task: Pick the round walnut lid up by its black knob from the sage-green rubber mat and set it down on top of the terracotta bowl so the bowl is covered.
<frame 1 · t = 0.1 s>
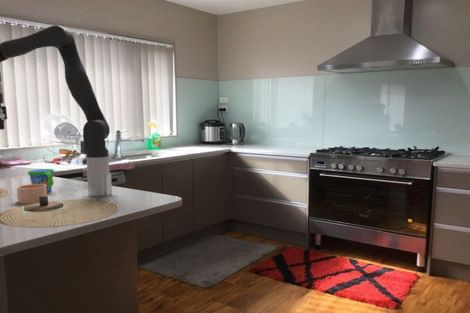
bowl: (33, 201, 172), on the countertop
lid: (44, 207, 159), point 1 cm above the countertop, touching mat
snack cup: (42, 192, 193), on the countertop
mat: (44, 208, 159), on the countertop
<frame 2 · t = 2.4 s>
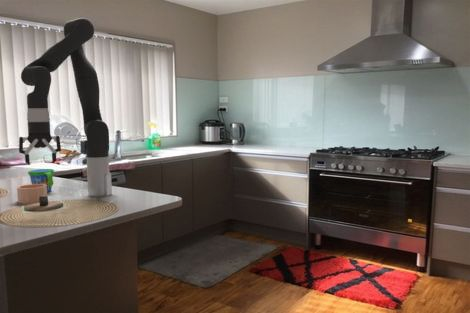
hand: (41, 163, 157), 17 cm above the countertop, fingers open, 8 cm apart
nothing on the countertop moved.
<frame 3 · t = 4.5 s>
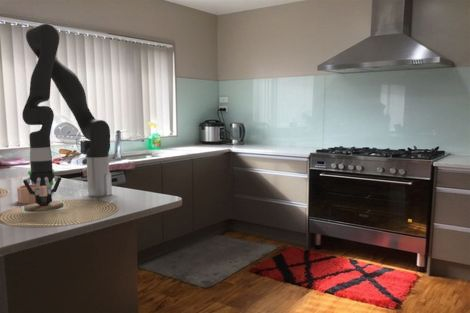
hand: (43, 203, 159), 2 cm above the countertop, fingers closed on lid, 3 cm apart
lid: (44, 207, 159), point 1 cm above the countertop, touching gripper, mat
everything else where it was.
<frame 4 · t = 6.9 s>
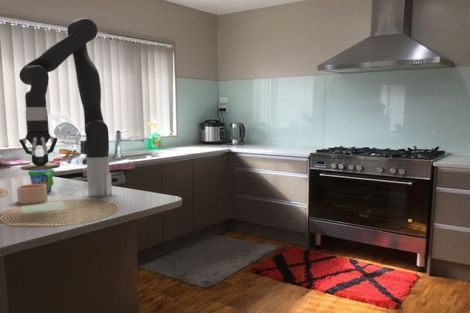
hand: (40, 164, 159), 17 cm above the countertop, fingers closed on lid, 3 cm apart
lid: (40, 167, 159), point 16 cm above the countertop, touching gripper
everything else where it was.
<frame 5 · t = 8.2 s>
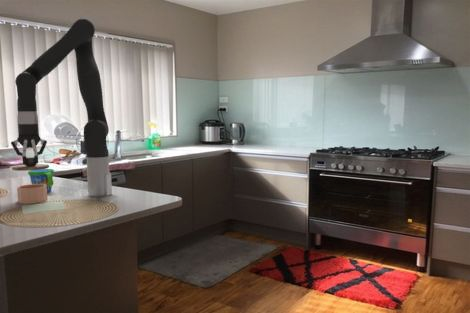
hand: (30, 165, 170), 15 cm above the countertop, fingers closed on lid, 3 cm apart
lid: (30, 168, 170), point 14 cm above the countertop, touching gripper
everything else where it was.
when the fingers open (9 cm above the countertop, at t = 9.5 s): lid drops 1 cm, resting on bowl.
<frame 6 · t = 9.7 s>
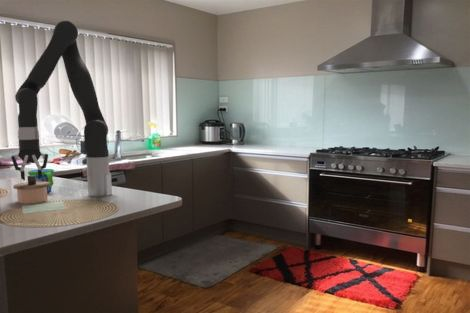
hand: (31, 179, 171), 9 cm above the countertop, fingers open, 5 cm apart
lid: (32, 186, 171), point 6 cm above the countertop, touching bowl
everything else where it was.
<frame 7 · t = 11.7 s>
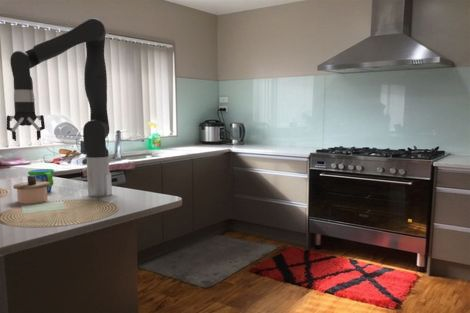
hand: (26, 140, 173), 25 cm above the countertop, fingers open, 8 cm apart
nothing on the countertop moved.
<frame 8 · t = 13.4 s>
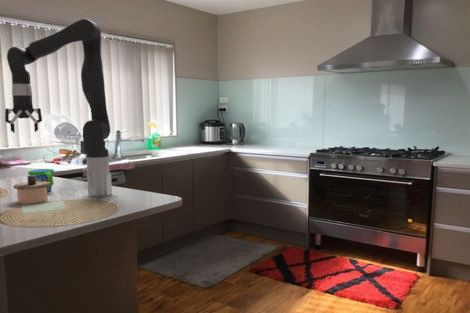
hand: (24, 132, 182), 28 cm above the countertop, fingers open, 8 cm apart
nothing on the countertop moved.
at the end: lid 0.0 cm off-centre on the bowl, point 6.5 cm above the bowl's base; lid tilted 0°; the gripper is holding nothing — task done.
